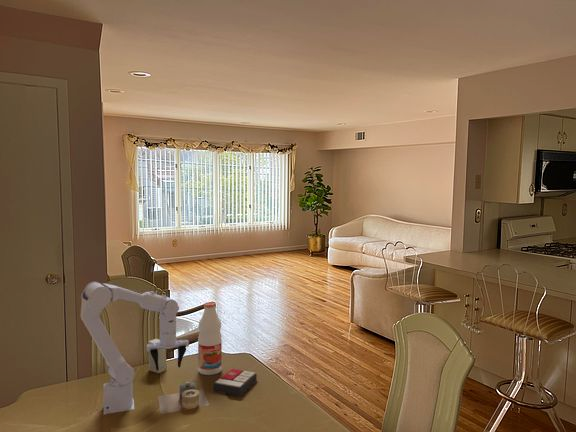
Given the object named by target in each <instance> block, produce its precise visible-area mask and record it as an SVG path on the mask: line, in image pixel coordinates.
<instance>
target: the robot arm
mask: <svg viewBox="0 0 576 432" xmlns="http://www.w3.org/2000/svg"><path fill="white" fill-rule="evenodd" d="M155 292H156V291H152V290H150V291H145V292H143V293H140V292H136V291H133V290H131V289H127V288H124V287H121V286H118V285H114V284H109V283H100V282H98V281H92V282H89V283H87V285H86V286H85V288H84V289H83V290H82V293H81V295H80V296H81V305H80V314H79V316H80V319H81V321H82V322H83V324H84V326H85V328H86V329H87V331H88V333H89V334H90V336H91V338H92V340H93V341H94V343H95V345H96V346H97V348H98V350H99V351H100V353H101V355H102V356H103V359H104V360H105V363H106V365H107V373H108V374H109V375H110V379H109V382H105V383H103V385H102V386H103V394H102V395H103V396H102V397H103V400H102V407H103V416H105V415H108V414H115V413H120V412H125V411H131V410H135V400H134V399H135V398H134V397H133V396H134V395H133V380H134V378H135V374H136V373H135V369H134V368H133V367H132V365H131V366H130V365H129V364H128V363H127V362H126V360H125V359H124V357H123V356H122V355H121V352H120V351H119V349H118V348H117V345H116V344H115V341H113V339H112V337H111V335H110V333H109V332H108V330H107V328H106V327H105V325H104V323H103V321H102V320H101V318H100V315H101V313H102V311H103V310H104V309H105V308H106V306H107V305H108V304H109V303H110V302H112V303H114V302H115V301H116V300H117V301H118V300H119V299H121V300H125V301H129V302H133V303H137V304H138V305H139V307H140V308H142V309H145V310H149V311H153V312H155V313H159V339H160V342H157V343H153V344H148V343H147V344H146V352H147V353H148V352H149V351H150V352H151V355H152V357H153V359H154V362H155V365H156V370H158V369H159V368H158V350H160V349H166V350H168V349H169V350H170V349H173V348H176V349H177V367H178V368H181V365H182V361H183V358H184V355H185V353H186V352H187V348H189V347H190V346H189V345H190V341H189V340H188V339H177V314H178V312H179V311H180V306H179V304H178V302H177V301H176V300H175V299H173V298H171V297H168V296H167V295H164V294H163V295H160V294H156V293H155Z"/></svg>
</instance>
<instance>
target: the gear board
mask: <svg viewBox="0 0 576 432" xmlns="http://www.w3.org/2000/svg"><path fill="white" fill-rule="evenodd" d="M191 389H194V390H198V392H199V405H198V406H197V407H196V408H192V409H199V408H205V407H209V406H210V403H209V401H208V398H207V396H206V394H205V392H204V389H201V388H200V389H197V385H196V383H195V382H193V381H185V382H183V383H181V384H179V392H175V393H170V394H164V395H159V396H158V395H157V400H158V405H159V411H160V415H164V414H165V415H166V414H171V413H175V412H176V413H177V412H183V411H188V410H189V411H190V409H186V408H183V407H182V393H183V392H184V391H186V390H191ZM188 395H189V396H190V395H193V394H188ZM192 409H191V410H192Z"/></svg>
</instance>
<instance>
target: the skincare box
mask: <svg viewBox="0 0 576 432" xmlns="http://www.w3.org/2000/svg"><path fill="white" fill-rule="evenodd" d="M157 342H160V338H159V339H158V338H154V339H151V340H148V342H147V345H148V344H153V343H157ZM147 353H148V370H149V371H150V372H154V373H156V374H160V373H163V372H165V371H167V364H168V363H167V349H160V350H158V368H159V369H158V370H156V365H155V362H154V359H153V357H152V355H151V352H150V351H149V352H147Z"/></svg>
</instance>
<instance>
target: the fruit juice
mask: <svg viewBox="0 0 576 432" xmlns="http://www.w3.org/2000/svg"><path fill="white" fill-rule="evenodd" d="M203 308H204V310H203V313H202V317H201V319H199V322H198V330H199V334H198V336H197V337H198V338H197V345H198V346H197V354H198V355H197V358H198V359H197V360H198V363H197V366H198V367H197V368H198V373H199V374H200V375H205V376H213V375H217V374H219V373H221V372H222V363H223V362H222V360H223V359H222V356H223V355H222V349H223V348H222V345H223V342H222V341H223V340H222V333H221V328H222V322H221V320H220V318H219V315H218V313H217V310H216V308H217V303H216V302H213V301H210V302H209V301H208V302H204V303H203Z"/></svg>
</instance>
